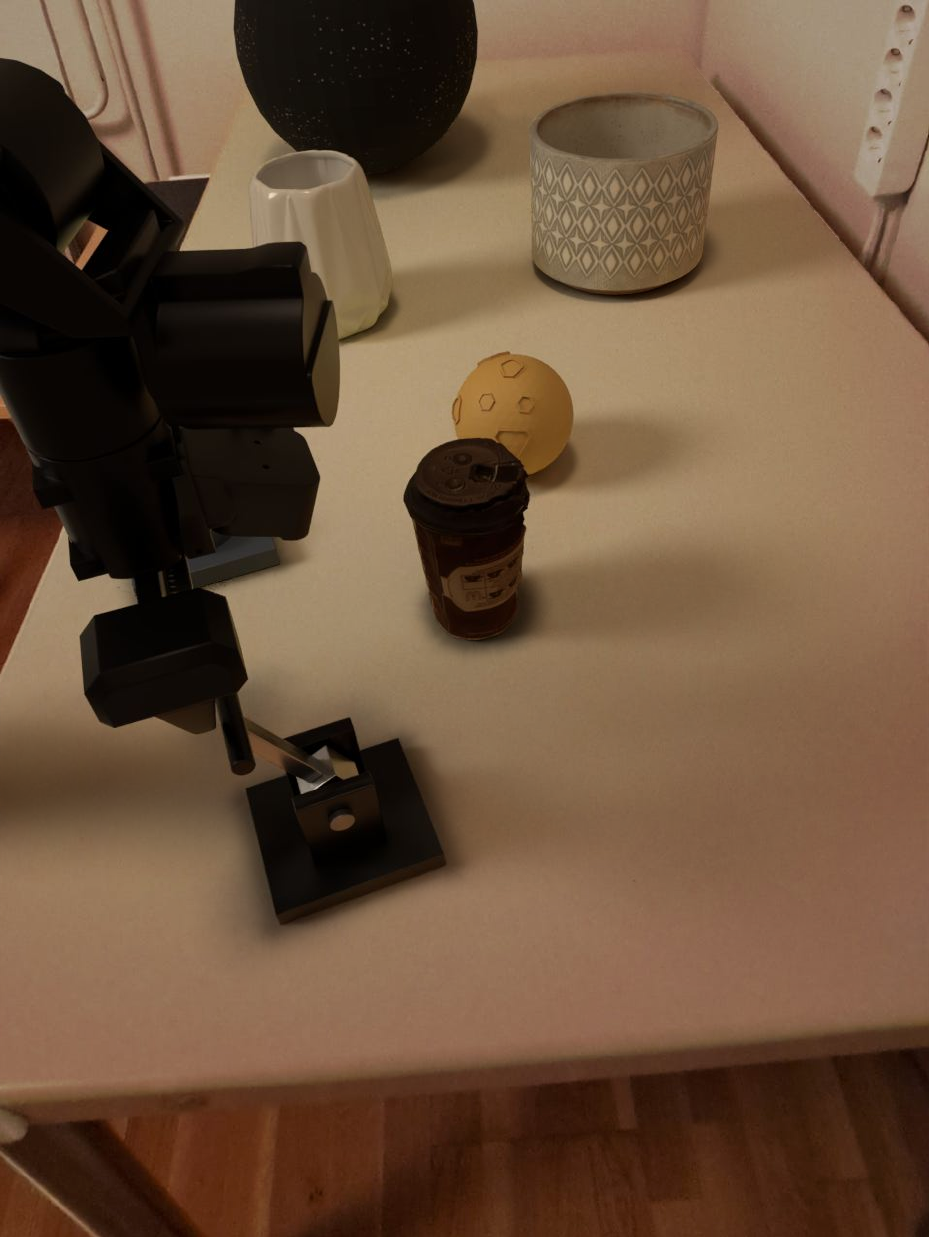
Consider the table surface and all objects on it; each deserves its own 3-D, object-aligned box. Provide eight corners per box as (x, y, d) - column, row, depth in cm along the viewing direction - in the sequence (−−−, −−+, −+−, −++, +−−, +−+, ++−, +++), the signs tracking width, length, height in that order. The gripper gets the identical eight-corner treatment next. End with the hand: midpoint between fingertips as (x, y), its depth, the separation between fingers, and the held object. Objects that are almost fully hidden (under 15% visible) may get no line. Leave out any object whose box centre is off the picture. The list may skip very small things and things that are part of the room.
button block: (140, 604, 72) (125, 571, 69) (126, 525, 78) (112, 492, 76) (280, 564, 74) (270, 530, 71) (255, 490, 80) (245, 457, 78)
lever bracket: (280, 925, 53) (250, 861, 48) (249, 798, 59) (220, 729, 54) (446, 864, 55) (435, 797, 50) (400, 748, 61) (386, 676, 56)
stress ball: (515, 417, 85) (512, 316, 78) (596, 462, 80) (601, 359, 73) (433, 466, 81) (422, 365, 74) (512, 518, 76) (509, 414, 68)
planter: (728, 244, 105) (748, 105, 95) (655, 319, 95) (668, 174, 85) (581, 213, 113) (585, 82, 103) (500, 280, 103) (494, 142, 93)
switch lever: (216, 777, 45) (254, 750, 45) (198, 695, 49) (233, 668, 48) (339, 838, 52) (373, 815, 52) (316, 763, 56) (347, 740, 56)
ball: (485, 205, 116) (471, -93, 95) (247, 220, 118) (179, -70, 96) (482, 117, 137) (470, -145, 115) (279, 131, 138) (229, -125, 117)
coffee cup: (560, 612, 68) (562, 470, 59) (475, 674, 65) (463, 533, 55) (480, 554, 73) (471, 414, 64) (397, 609, 70) (374, 469, 60)
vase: (377, 354, 94) (355, 202, 83) (246, 347, 97) (207, 199, 86) (411, 286, 103) (394, 141, 92) (290, 281, 106) (260, 140, 95)
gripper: (336, 506, 34) (385, 754, 45) (247, 280, 46) (303, 520, 58) (19, 588, 32) (154, 827, 43) (13, 328, 44) (120, 568, 56)
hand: (193, 664), depth 50 cm, fingers open, 9 cm apart
